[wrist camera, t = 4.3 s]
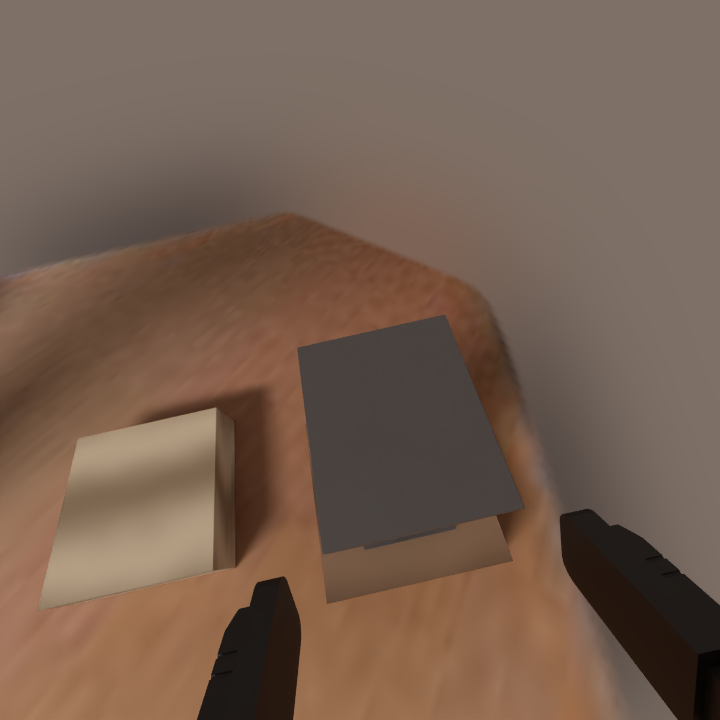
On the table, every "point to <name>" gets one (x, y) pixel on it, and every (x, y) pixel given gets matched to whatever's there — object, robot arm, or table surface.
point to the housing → (398, 438)
